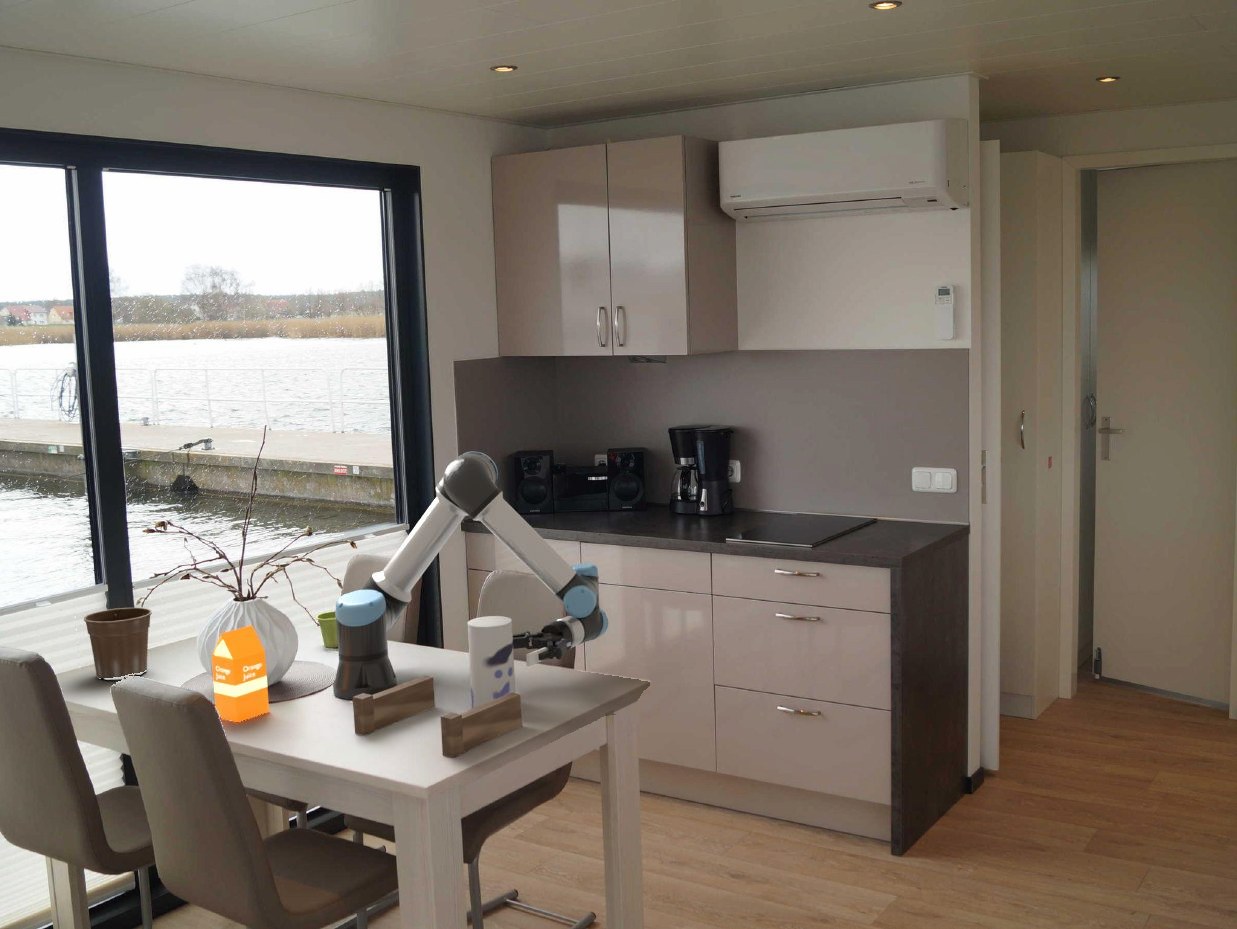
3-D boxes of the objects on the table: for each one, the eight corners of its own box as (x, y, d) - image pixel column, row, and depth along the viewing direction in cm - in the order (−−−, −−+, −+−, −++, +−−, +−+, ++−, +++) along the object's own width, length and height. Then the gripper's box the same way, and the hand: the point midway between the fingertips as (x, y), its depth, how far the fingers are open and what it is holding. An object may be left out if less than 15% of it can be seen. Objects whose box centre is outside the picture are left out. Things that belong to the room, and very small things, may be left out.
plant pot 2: (343, 650, 313) (341, 619, 312) (312, 649, 315) (310, 618, 314) (358, 641, 322) (356, 611, 321) (327, 640, 324) (325, 610, 323)
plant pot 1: (155, 662, 307) (150, 604, 305) (158, 677, 292) (153, 616, 291) (89, 671, 300) (83, 611, 299) (88, 687, 286) (83, 624, 284)
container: (497, 716, 252) (493, 628, 250) (462, 709, 257) (458, 623, 255) (524, 703, 260) (520, 617, 258) (490, 697, 266) (486, 613, 264)
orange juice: (215, 717, 258) (209, 631, 256) (248, 706, 265) (241, 623, 263) (237, 723, 254) (231, 635, 251) (270, 712, 261) (263, 626, 259)
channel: (354, 733, 244) (352, 696, 243) (426, 705, 262) (424, 671, 261) (453, 757, 227) (451, 718, 227) (522, 726, 245) (521, 689, 244)
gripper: (603, 656, 271) (548, 679, 254) (522, 643, 285) (465, 664, 268) (602, 625, 270) (546, 647, 253) (521, 614, 284) (463, 633, 267)
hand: (504, 656), depth 260 cm, fingers open, 13 cm apart
